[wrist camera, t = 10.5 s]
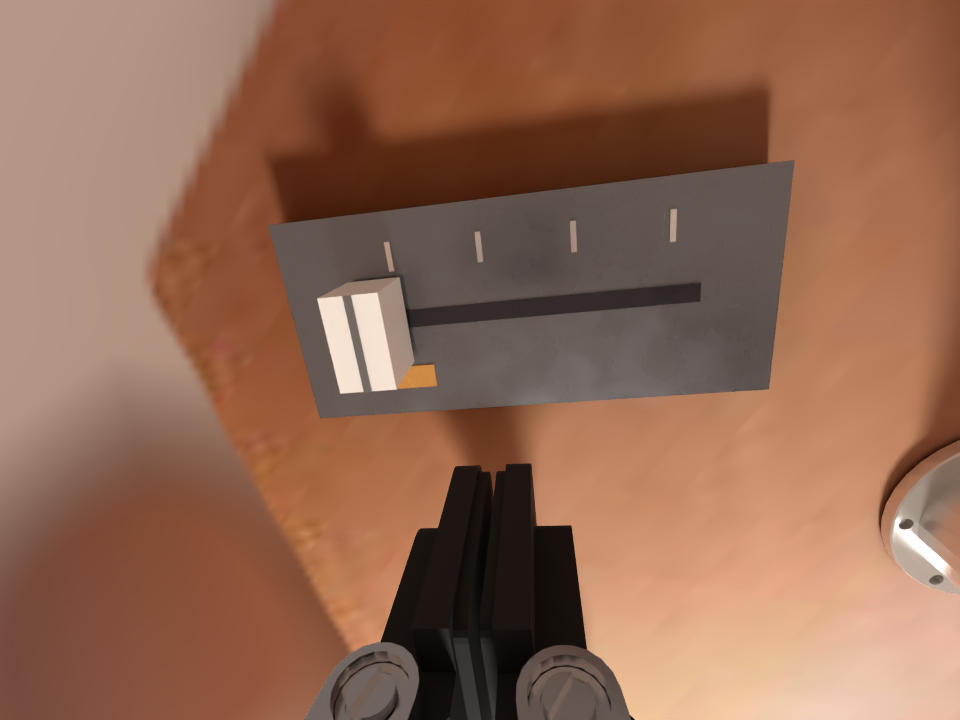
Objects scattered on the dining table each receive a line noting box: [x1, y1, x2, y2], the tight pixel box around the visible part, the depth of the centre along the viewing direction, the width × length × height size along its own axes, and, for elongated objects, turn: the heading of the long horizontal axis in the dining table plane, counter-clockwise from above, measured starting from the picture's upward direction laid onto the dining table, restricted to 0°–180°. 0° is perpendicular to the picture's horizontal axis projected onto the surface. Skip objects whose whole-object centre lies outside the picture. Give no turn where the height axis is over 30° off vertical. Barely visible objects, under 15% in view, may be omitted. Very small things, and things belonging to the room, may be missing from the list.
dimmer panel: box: [268, 160, 794, 418], centre depth 26 cm, size 27×12×3 cm, turn 97°
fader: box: [317, 277, 414, 394], centre depth 24 cm, size 3×5×4 cm, turn 8°
